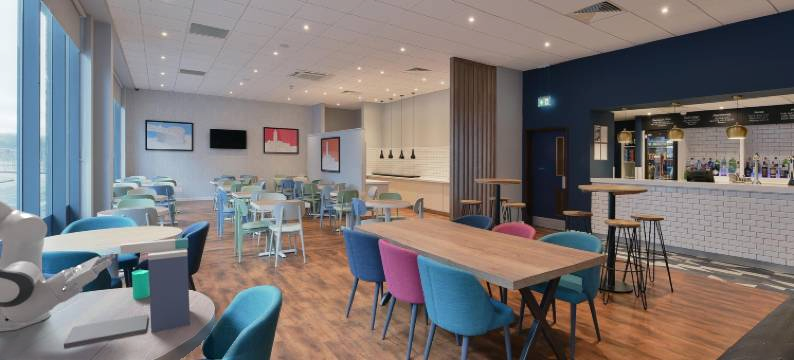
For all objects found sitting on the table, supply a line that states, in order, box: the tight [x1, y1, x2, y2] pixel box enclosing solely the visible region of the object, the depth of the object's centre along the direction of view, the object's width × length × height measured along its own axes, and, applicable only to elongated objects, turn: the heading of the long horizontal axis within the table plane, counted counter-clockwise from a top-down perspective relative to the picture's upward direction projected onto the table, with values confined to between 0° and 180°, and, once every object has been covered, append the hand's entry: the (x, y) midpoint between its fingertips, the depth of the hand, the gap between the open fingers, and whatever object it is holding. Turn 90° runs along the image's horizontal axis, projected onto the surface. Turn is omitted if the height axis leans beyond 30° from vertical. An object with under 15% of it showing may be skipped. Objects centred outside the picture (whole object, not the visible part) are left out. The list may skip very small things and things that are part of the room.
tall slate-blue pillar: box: [147, 248, 191, 333], centre depth 143 cm, size 12×16×26 cm
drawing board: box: [63, 314, 149, 348], centre depth 135 cm, size 22×14×1 cm, turn 119°
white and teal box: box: [119, 237, 189, 255], centre depth 140 cm, size 20×4×3 cm, turn 119°
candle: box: [131, 269, 150, 300], centre depth 168 cm, size 6×6×12 cm
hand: (112, 257), depth 134 cm, fingers open, 8 cm apart
